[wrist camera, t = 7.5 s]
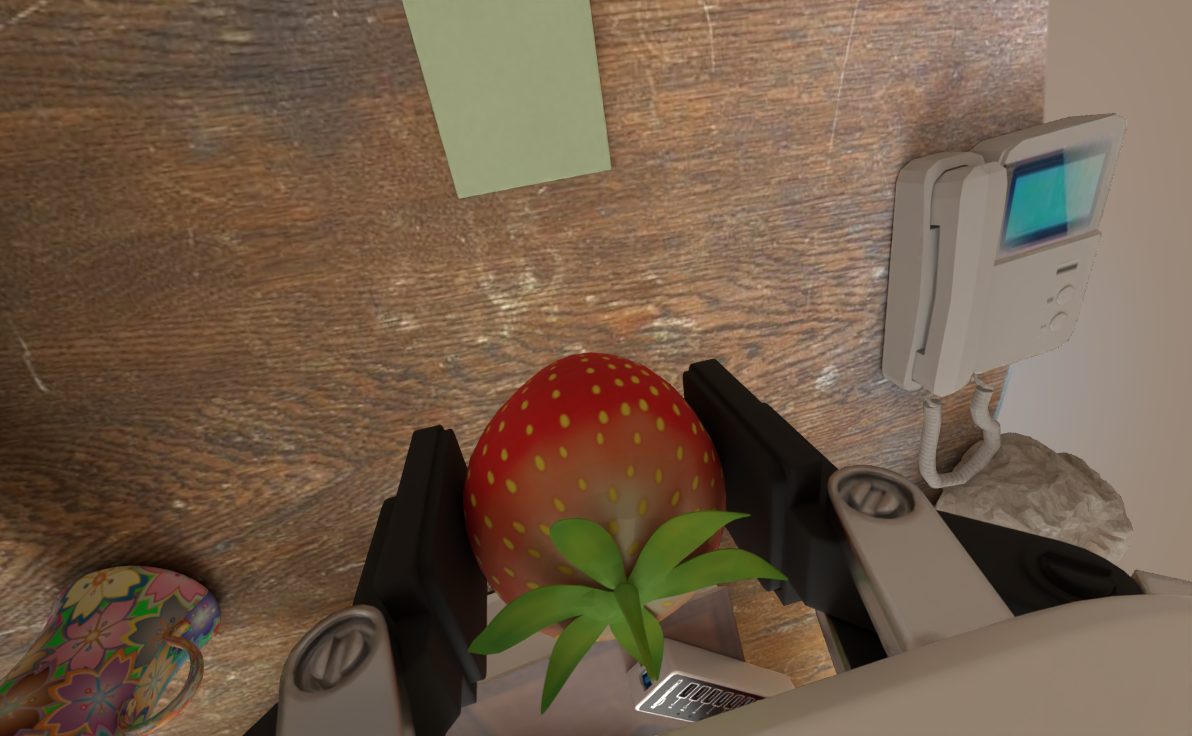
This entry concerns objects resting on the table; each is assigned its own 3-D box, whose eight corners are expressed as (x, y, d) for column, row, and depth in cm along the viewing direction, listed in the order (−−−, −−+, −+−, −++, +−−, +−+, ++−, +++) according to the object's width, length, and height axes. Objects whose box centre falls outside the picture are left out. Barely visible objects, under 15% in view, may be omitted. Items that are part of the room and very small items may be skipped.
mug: (132, 668, 31) (-21, 889, 22) (15, 585, 27) (-237, 816, 18) (302, 605, 32) (225, 792, 23) (215, 514, 28) (76, 700, 18)
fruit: (637, 462, 15) (775, 751, 8) (472, 472, 14) (456, 824, 6) (663, 302, 12) (891, 504, 5) (466, 297, 11) (431, 548, 4)
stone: (971, 534, 31) (950, 390, 41) (875, 626, 42) (877, 496, 52) (1338, 654, 25) (1208, 452, 35) (1111, 723, 36) (1062, 556, 46)
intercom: (915, 515, 34) (963, 165, 23) (872, 480, 38) (895, 164, 27) (1064, 462, 36) (1179, 104, 24) (1008, 433, 39) (1085, 112, 28)
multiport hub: (754, 707, 38) (768, 739, 36) (623, 675, 32) (632, 710, 30) (790, 675, 37) (807, 706, 35) (662, 636, 31) (674, 670, 29)
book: (524, 780, 48) (529, 866, 42) (395, 631, 35) (376, 727, 29) (736, 692, 49) (769, 764, 43) (689, 516, 36) (727, 586, 30)
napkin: (403, 2, 19) (401, -1, 19) (584, -24, 20) (586, -27, 20) (458, 197, 23) (458, 198, 23) (610, 169, 24) (611, 169, 24)
